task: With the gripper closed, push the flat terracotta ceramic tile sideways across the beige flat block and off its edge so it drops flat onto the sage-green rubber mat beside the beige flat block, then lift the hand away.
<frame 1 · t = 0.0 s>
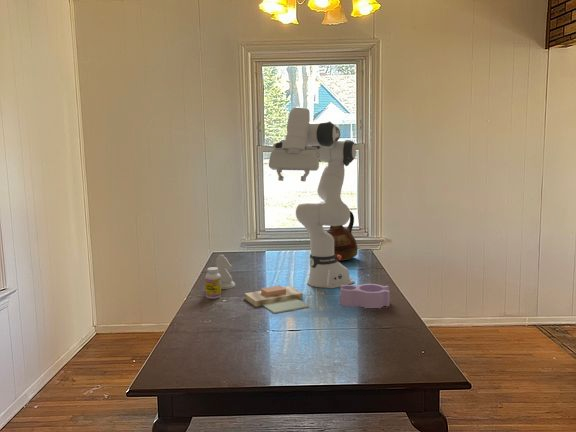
hand: (291, 180, 198), 52 cm above the table, tool tilted 20°, fingers open, 8 cm apart
tile: (273, 293, 218), point 2 cm above the table, touching beige flat block
clip: (364, 304, 211), on the table
supplement bottle: (213, 297, 222), on the table
beige flat block: (273, 298, 219), on the table
mat: (285, 306, 209), on the table
chess piece: (224, 286, 238), on the table
ceramic pitcher: (339, 259, 286), on the table
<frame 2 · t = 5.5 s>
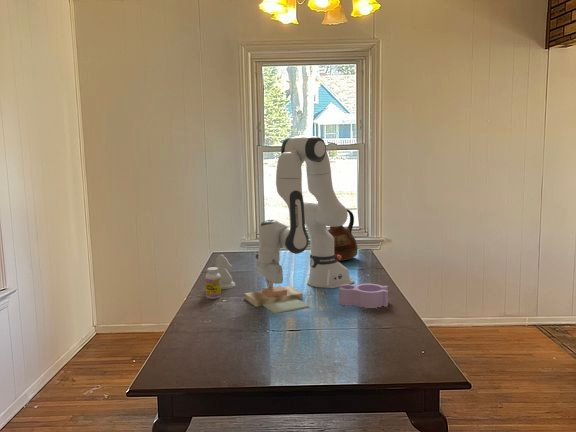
hand: (269, 288, 221), 4 cm above the table, tool pointing down, fingers closed
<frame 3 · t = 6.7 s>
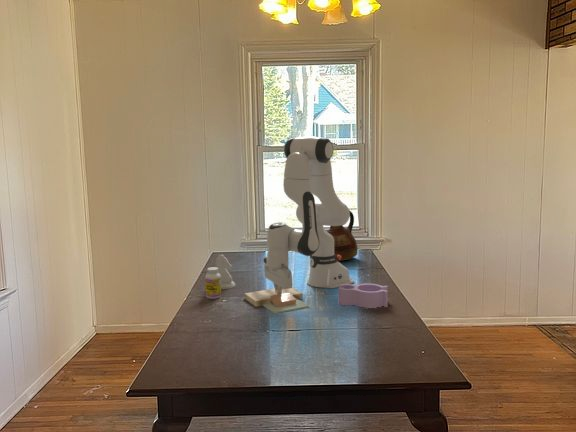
hand: (278, 293, 214), 4 cm above the table, tool pointing down, fingers closed
tile: (283, 301, 211), point 1 cm above the table, tilted 14°, touching gripper
everything else where it was.
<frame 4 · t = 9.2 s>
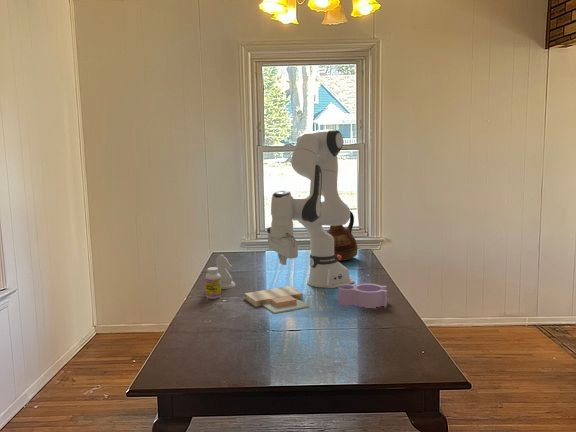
hand: (283, 264, 208), 17 cm above the table, tool pointing down, fingers closed
tile: (283, 303, 210), point 1 cm above the table, touching mat
everything else where it was.
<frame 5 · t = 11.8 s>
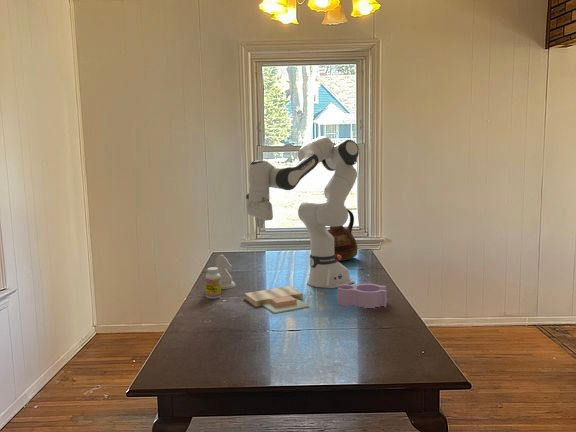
hand: (260, 227, 226), 29 cm above the table, tool pointing down, fingers closed
at the end: tile inside the target area (2.0 cm from its centre), point 0.6 cm above the table; tile tilted 0° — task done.
